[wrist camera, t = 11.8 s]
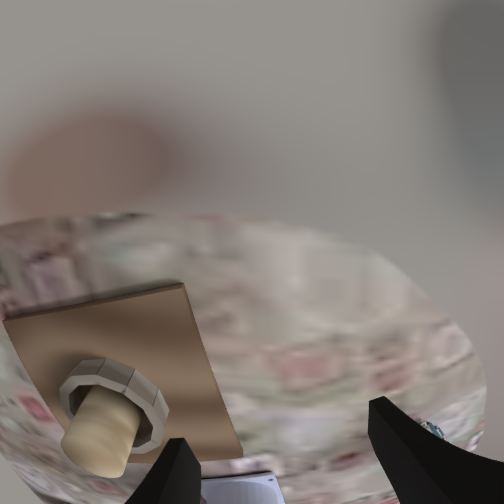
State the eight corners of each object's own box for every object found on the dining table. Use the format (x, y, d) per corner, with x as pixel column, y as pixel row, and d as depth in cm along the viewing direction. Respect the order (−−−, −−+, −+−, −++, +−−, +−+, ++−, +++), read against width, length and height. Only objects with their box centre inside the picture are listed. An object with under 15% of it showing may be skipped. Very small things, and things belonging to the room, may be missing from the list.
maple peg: (152, 420, 20) (135, 480, 14) (106, 421, 20) (83, 474, 14) (128, 377, 19) (101, 438, 13) (81, 381, 19) (48, 433, 13)
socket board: (243, 450, 22) (243, 474, 19) (89, 453, 22) (81, 473, 20) (183, 283, 18) (174, 301, 15) (7, 317, 18) (-12, 332, 16)
